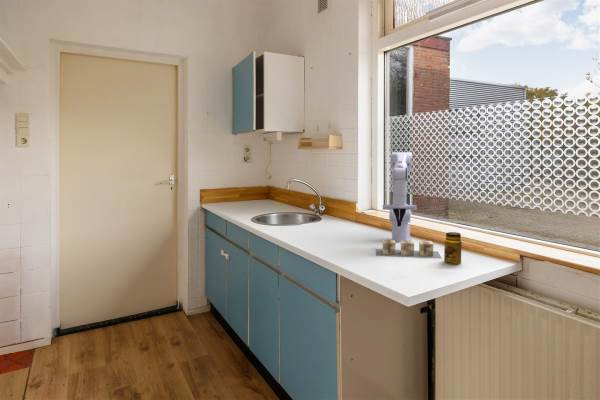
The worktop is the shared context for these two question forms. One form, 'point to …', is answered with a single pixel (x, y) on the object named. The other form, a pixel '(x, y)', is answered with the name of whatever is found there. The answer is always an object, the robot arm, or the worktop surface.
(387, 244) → the block one
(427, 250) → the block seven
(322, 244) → the worktop surface
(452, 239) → the condiment
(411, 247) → the plain block
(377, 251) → the slate mat
